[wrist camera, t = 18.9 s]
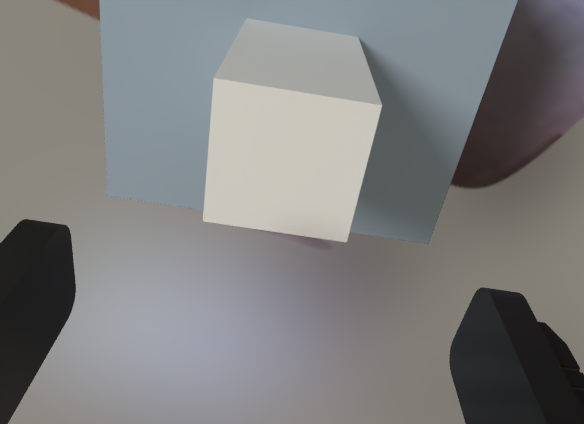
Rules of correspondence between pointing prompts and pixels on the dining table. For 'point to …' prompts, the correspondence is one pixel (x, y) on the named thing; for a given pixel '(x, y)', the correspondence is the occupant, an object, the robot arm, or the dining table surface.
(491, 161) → the dining table surface
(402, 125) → the box lid
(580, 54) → the dining table surface
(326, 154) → the block
